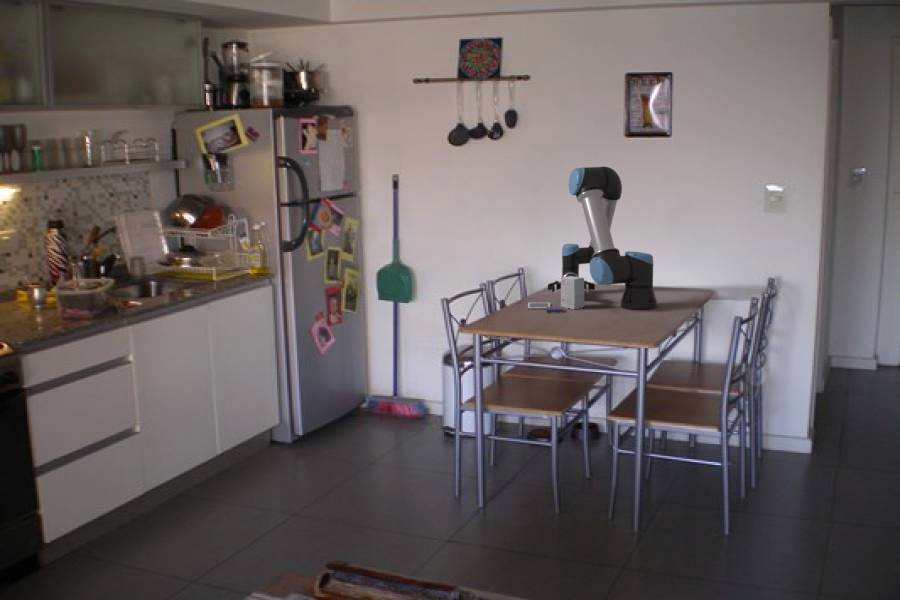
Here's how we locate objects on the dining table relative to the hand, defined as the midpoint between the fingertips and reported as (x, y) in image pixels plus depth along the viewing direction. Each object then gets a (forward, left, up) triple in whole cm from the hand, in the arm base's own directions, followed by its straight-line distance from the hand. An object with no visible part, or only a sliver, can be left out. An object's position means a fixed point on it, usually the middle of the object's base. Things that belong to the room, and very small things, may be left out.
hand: (571, 290), depth 416 cm
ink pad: (+7, +9, -7) cm, 14 cm away
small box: (0, +1, -8) cm, 8 cm away
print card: (+14, 0, -7) cm, 16 cm away
